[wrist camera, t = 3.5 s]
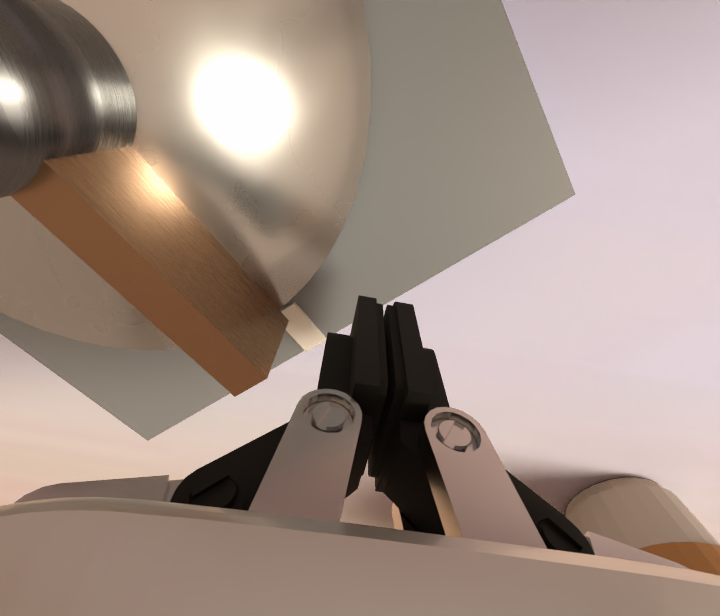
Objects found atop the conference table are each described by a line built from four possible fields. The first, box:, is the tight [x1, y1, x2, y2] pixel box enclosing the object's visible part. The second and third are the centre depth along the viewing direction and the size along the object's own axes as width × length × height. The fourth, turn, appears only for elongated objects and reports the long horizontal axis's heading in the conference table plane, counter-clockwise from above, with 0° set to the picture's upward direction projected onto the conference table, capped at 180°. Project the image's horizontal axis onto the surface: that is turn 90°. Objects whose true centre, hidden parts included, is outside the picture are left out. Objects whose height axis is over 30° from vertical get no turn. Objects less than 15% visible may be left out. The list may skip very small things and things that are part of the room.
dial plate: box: [0, 0, 575, 440], centre depth 11 cm, size 21×21×2 cm
